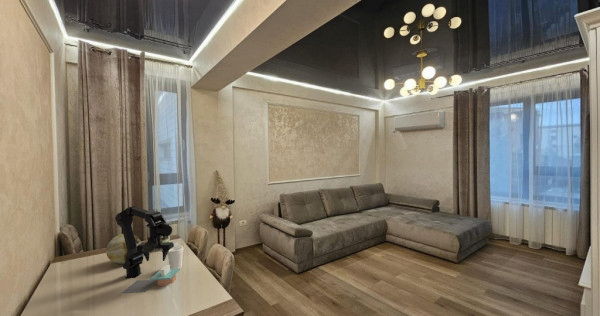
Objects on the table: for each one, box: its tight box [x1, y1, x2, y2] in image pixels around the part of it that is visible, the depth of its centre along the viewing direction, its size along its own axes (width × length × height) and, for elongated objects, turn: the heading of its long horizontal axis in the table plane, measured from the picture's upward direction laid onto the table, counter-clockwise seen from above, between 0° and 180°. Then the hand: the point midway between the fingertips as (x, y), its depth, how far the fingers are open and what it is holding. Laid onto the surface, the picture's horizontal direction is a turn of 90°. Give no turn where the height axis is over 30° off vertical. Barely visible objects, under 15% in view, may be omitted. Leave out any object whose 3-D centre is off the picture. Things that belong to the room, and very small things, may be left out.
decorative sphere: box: [105, 233, 142, 265], centre depth 172 cm, size 20×20×20 cm
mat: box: [121, 279, 157, 294], centre depth 138 cm, size 13×13×1 cm
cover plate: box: [149, 264, 181, 280], centre depth 141 cm, size 11×11×4 cm
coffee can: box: [155, 235, 171, 252], centre depth 196 cm, size 10×10×14 cm
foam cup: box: [167, 245, 185, 269], centre depth 159 cm, size 10×9×13 cm
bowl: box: [156, 273, 177, 287], centre depth 142 cm, size 9×9×4 cm
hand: (155, 261), depth 144 cm, fingers open, 9 cm apart
